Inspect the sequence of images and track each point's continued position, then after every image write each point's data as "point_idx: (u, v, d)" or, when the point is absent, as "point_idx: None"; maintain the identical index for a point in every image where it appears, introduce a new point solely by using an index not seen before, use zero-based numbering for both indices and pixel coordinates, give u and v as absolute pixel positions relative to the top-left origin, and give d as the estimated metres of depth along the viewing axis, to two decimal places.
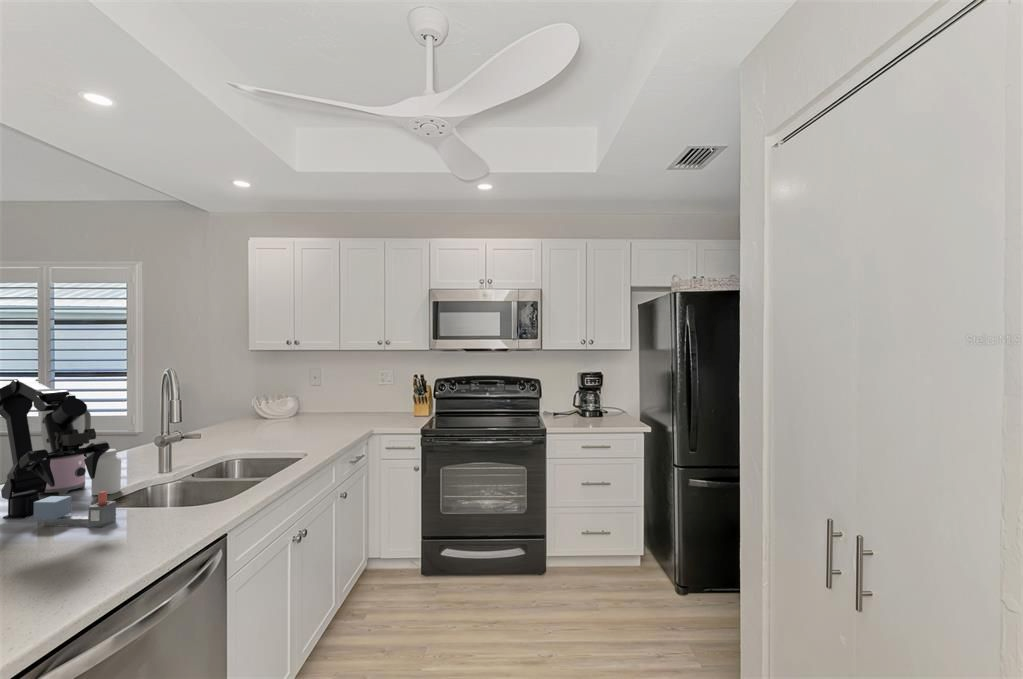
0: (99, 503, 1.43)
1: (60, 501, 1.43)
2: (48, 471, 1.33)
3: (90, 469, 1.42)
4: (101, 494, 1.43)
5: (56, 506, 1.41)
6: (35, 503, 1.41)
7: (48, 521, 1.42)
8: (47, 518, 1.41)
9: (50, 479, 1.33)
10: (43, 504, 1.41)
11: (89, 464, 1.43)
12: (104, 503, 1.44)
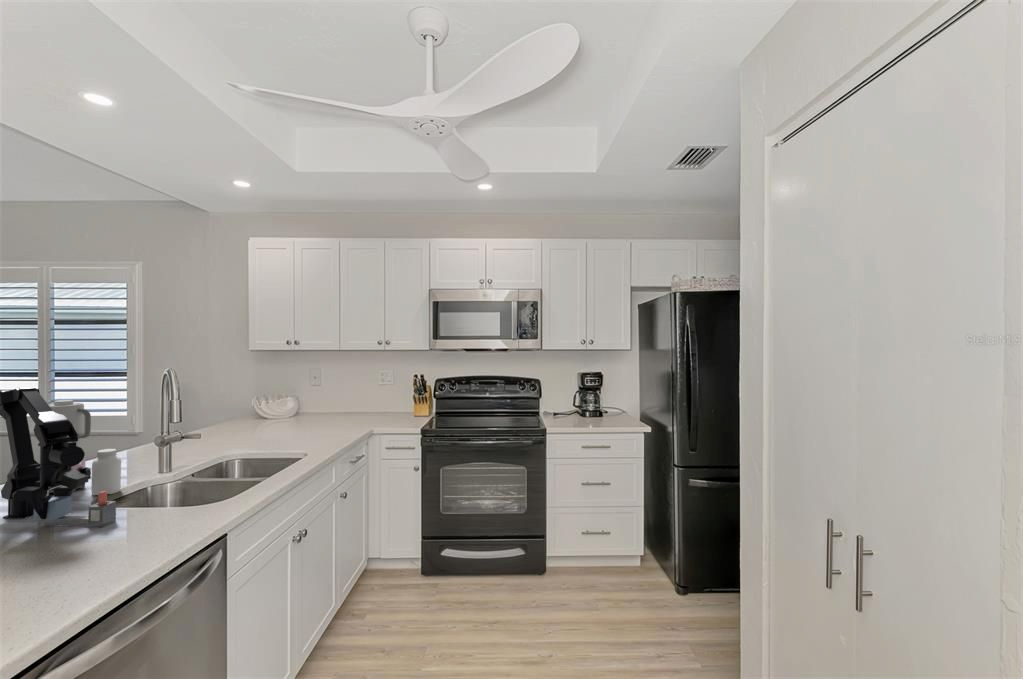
0: (99, 503, 1.43)
1: (60, 501, 1.43)
2: (45, 506, 1.40)
3: None
4: (101, 494, 1.43)
5: (56, 506, 1.41)
6: None
7: (48, 521, 1.42)
8: (47, 518, 1.41)
9: (44, 513, 1.40)
10: None
11: None
12: (104, 503, 1.44)
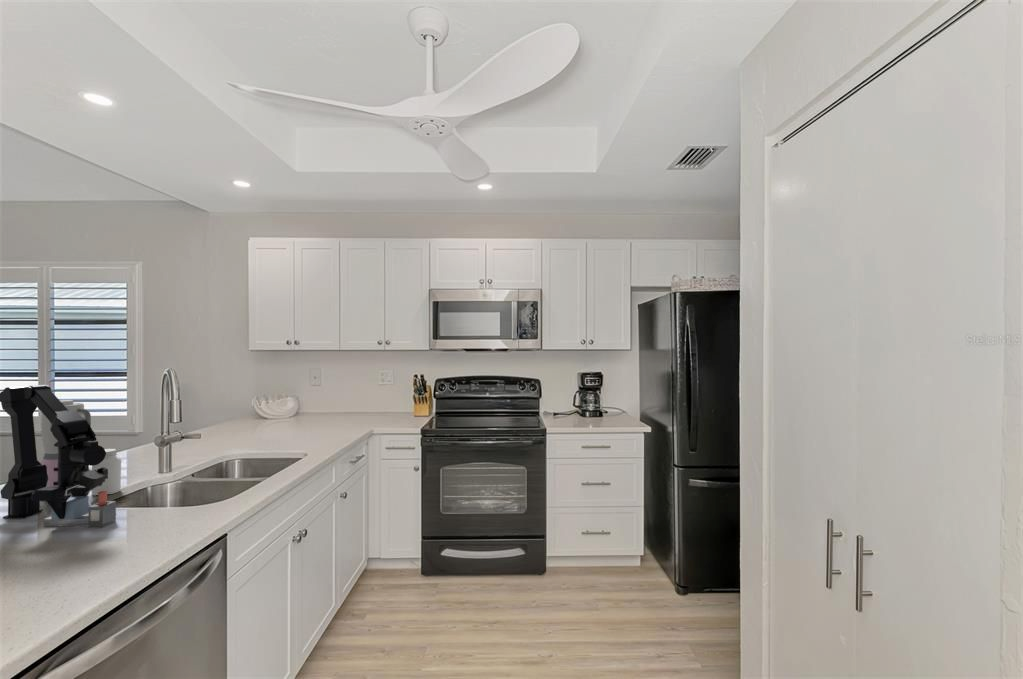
0: (99, 503, 1.43)
1: (78, 501, 1.43)
2: (64, 506, 1.40)
3: None
4: (101, 494, 1.43)
5: (74, 506, 1.42)
6: None
7: (48, 521, 1.42)
8: (65, 518, 1.41)
9: (62, 513, 1.40)
10: None
11: None
12: (104, 503, 1.44)
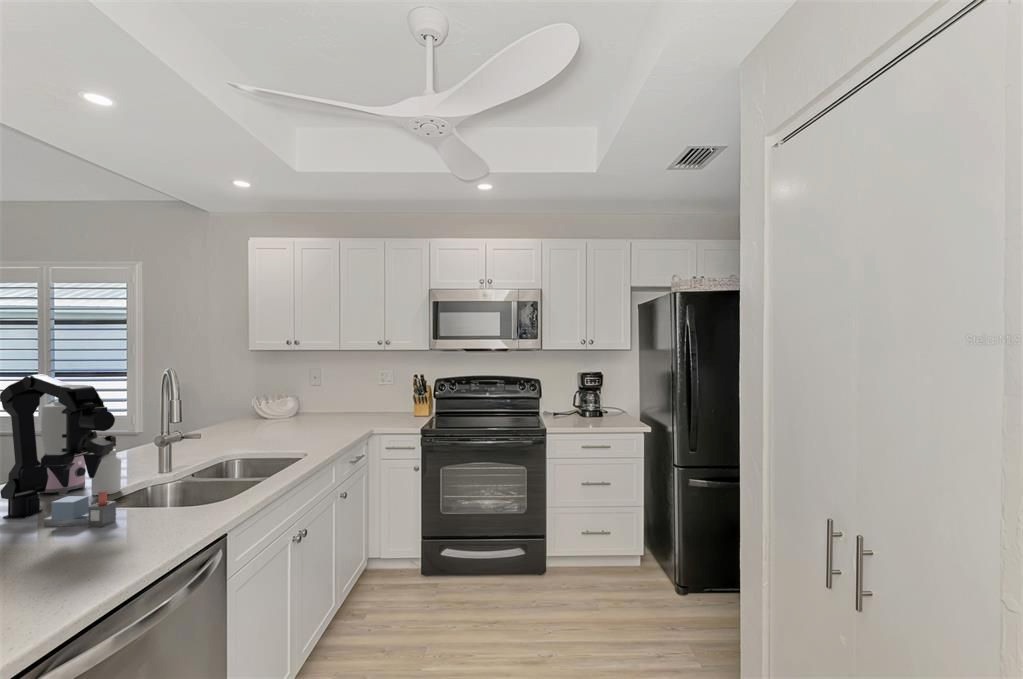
0: (99, 503, 1.43)
1: (78, 501, 1.43)
2: (67, 473, 1.38)
3: (90, 468, 1.48)
4: (101, 494, 1.43)
5: (74, 506, 1.42)
6: (53, 503, 1.41)
7: (48, 521, 1.42)
8: (65, 518, 1.41)
9: (66, 481, 1.39)
10: (61, 504, 1.41)
11: (91, 463, 1.49)
12: (104, 503, 1.44)
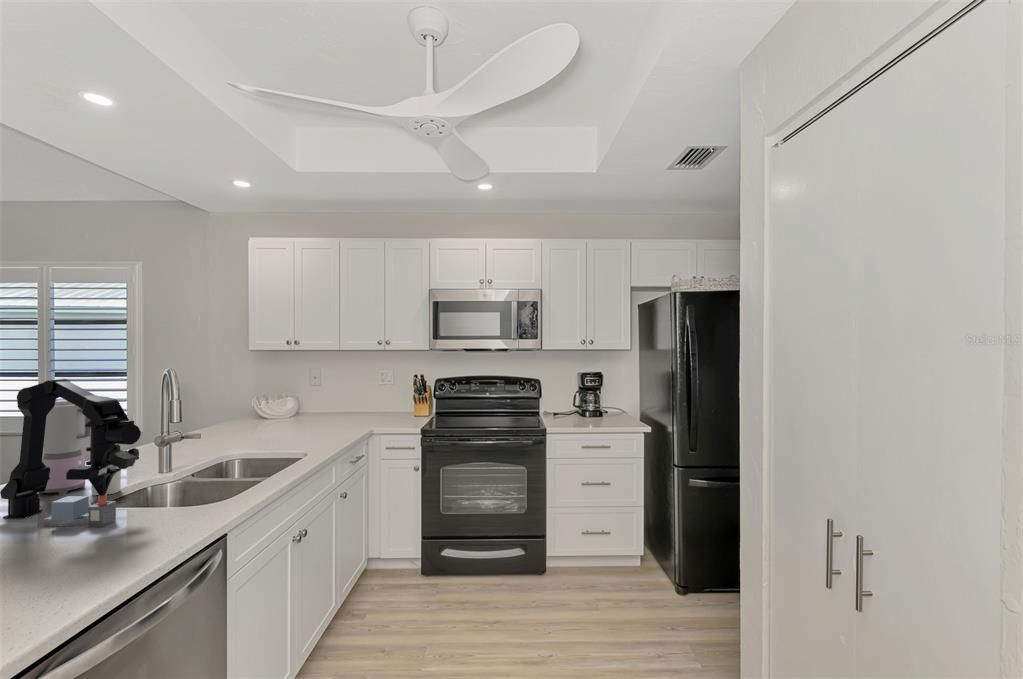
0: None
1: (78, 501, 1.43)
2: (104, 482, 1.43)
3: None
4: (101, 497, 1.43)
5: (74, 506, 1.42)
6: (53, 503, 1.41)
7: (48, 521, 1.42)
8: (65, 518, 1.41)
9: (102, 490, 1.44)
10: (61, 504, 1.41)
11: None
12: None
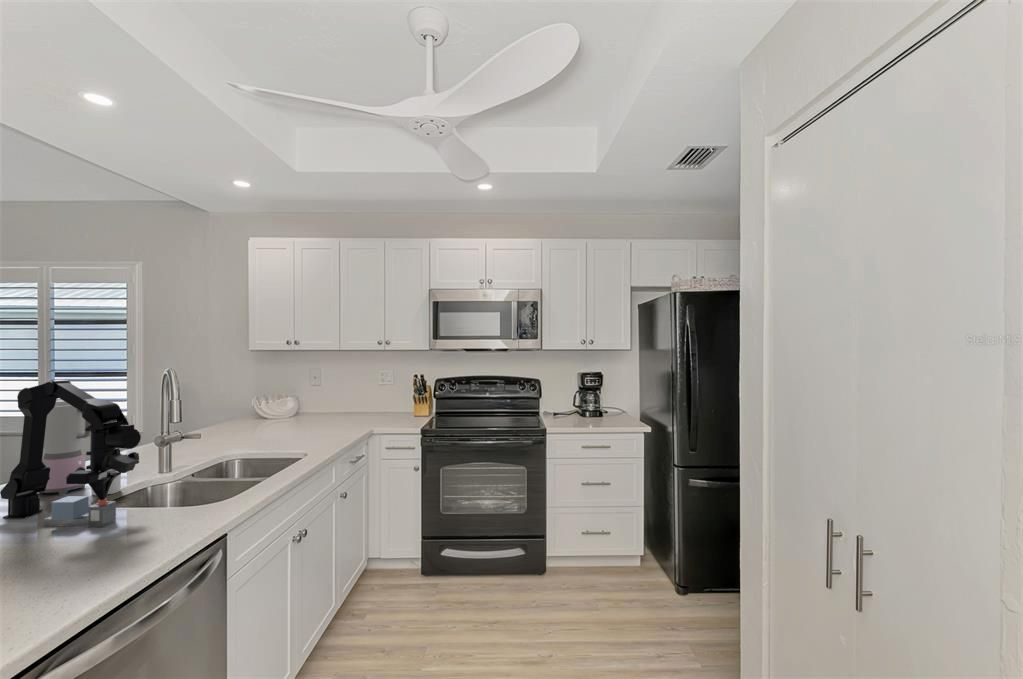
0: None
1: (78, 501, 1.43)
2: (104, 487, 1.43)
3: None
4: (101, 502, 1.43)
5: (74, 506, 1.42)
6: (53, 503, 1.41)
7: (48, 521, 1.42)
8: (65, 518, 1.41)
9: (102, 494, 1.44)
10: (61, 504, 1.41)
11: None
12: None
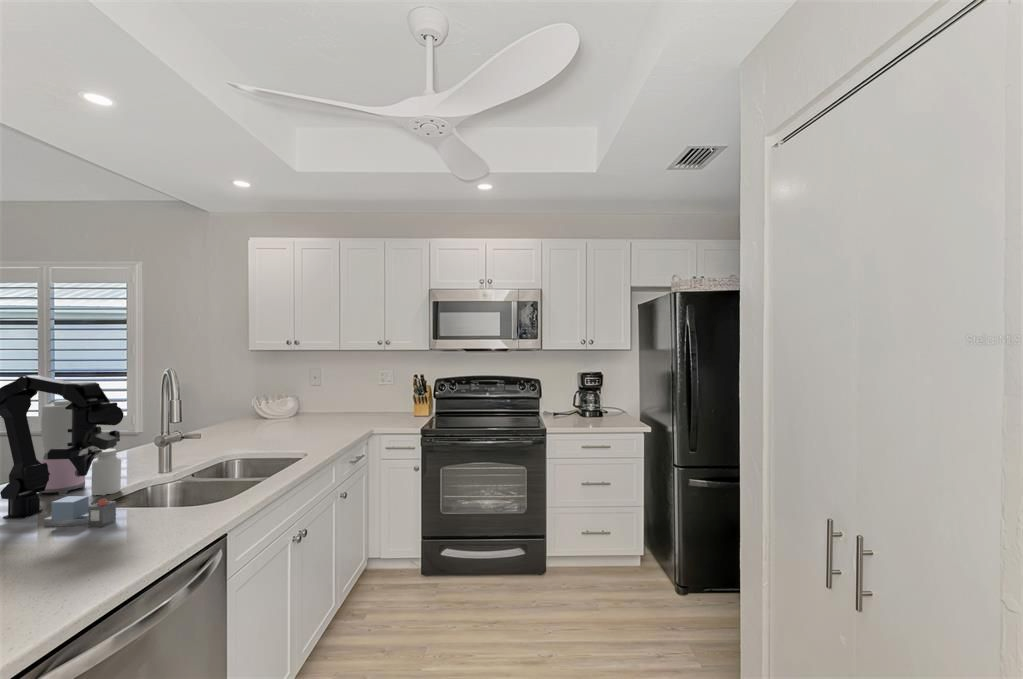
0: None
1: (78, 501, 1.43)
2: (85, 463, 1.47)
3: None
4: (101, 502, 1.43)
5: (74, 506, 1.42)
6: (53, 503, 1.41)
7: (48, 521, 1.42)
8: (65, 518, 1.41)
9: (83, 470, 1.48)
10: (61, 504, 1.41)
11: None
12: None
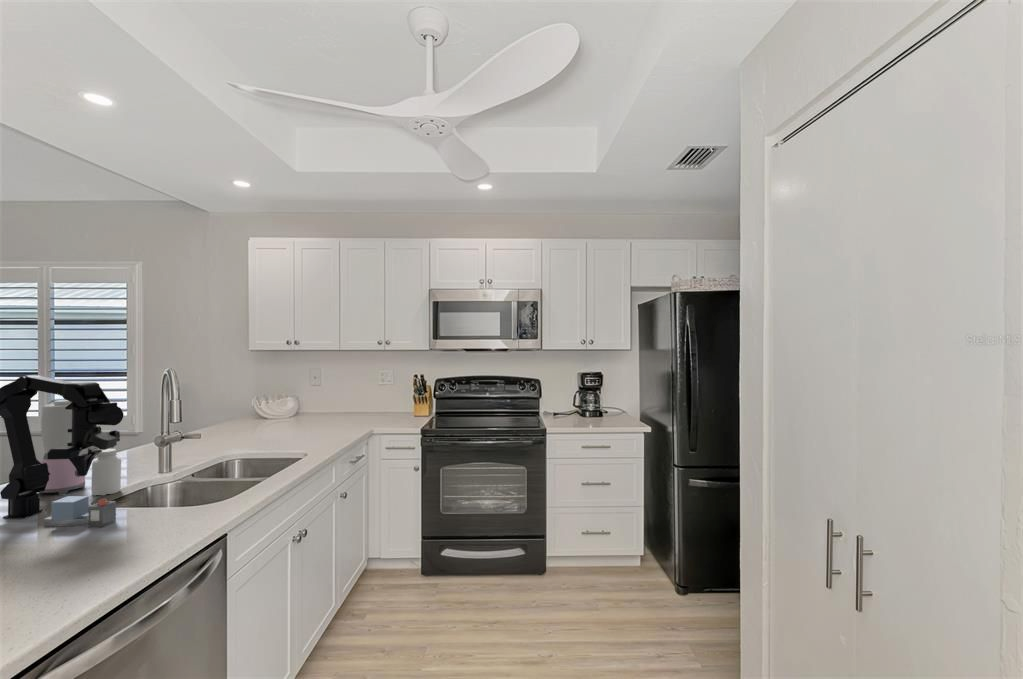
0: None
1: (78, 501, 1.43)
2: (85, 463, 1.47)
3: None
4: (101, 502, 1.43)
5: (74, 506, 1.42)
6: (53, 503, 1.41)
7: (48, 521, 1.42)
8: (65, 518, 1.41)
9: (83, 470, 1.48)
10: (61, 504, 1.41)
11: None
12: None
